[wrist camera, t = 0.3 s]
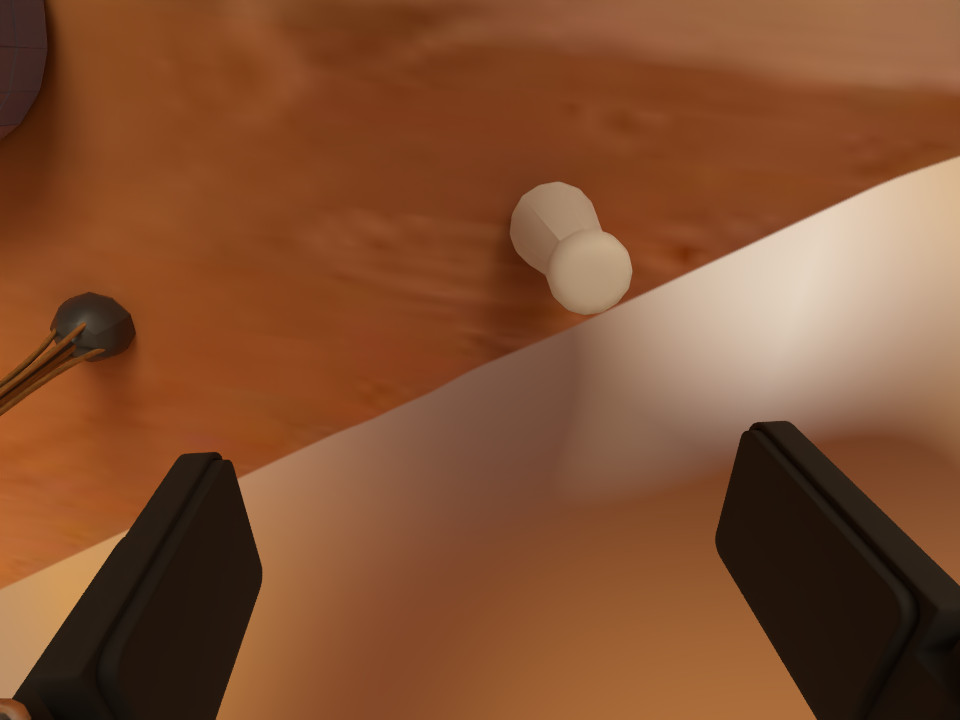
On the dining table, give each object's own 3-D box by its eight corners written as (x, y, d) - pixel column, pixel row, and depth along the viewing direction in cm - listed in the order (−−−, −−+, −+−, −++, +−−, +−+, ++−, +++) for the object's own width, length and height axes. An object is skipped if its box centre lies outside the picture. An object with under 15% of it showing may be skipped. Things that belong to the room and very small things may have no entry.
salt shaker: (494, 245, 39) (519, 316, 27) (522, 164, 36) (561, 206, 25) (568, 267, 40) (622, 345, 28) (600, 191, 38) (672, 243, 26)
